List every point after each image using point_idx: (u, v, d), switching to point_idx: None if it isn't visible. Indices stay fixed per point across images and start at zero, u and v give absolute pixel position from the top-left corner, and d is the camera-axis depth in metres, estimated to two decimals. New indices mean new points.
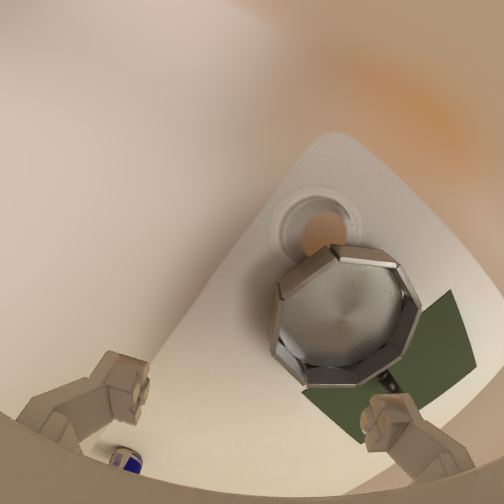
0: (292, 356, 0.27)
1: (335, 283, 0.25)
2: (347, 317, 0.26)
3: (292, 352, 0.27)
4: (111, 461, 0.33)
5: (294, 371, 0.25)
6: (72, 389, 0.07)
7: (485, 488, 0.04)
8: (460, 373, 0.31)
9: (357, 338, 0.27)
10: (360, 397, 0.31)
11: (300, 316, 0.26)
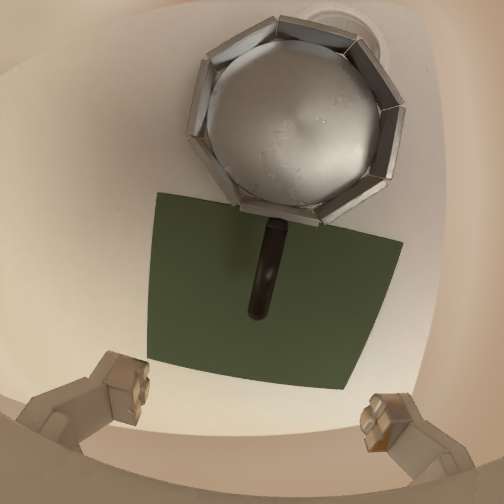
0: (206, 107, 0.18)
1: (322, 79, 0.18)
2: (299, 125, 0.19)
3: (209, 106, 0.18)
4: None
5: (199, 103, 0.16)
6: (72, 389, 0.07)
7: (485, 488, 0.04)
8: (323, 376, 0.27)
9: (285, 162, 0.20)
10: (206, 275, 0.24)
11: (259, 74, 0.18)
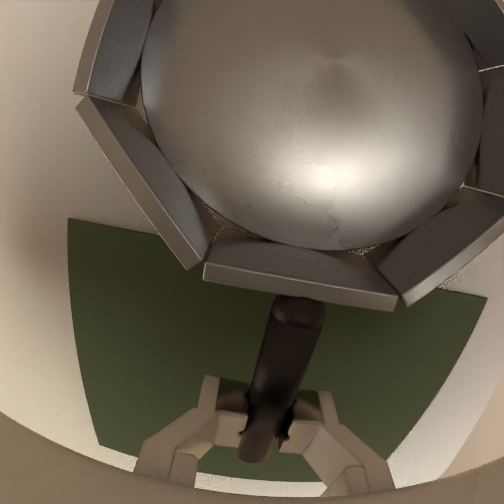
0: (139, 42, 0.07)
1: None
2: (343, 74, 0.08)
3: (147, 42, 0.07)
4: None
5: (107, 18, 0.05)
6: (186, 424, 0.07)
7: (485, 488, 0.04)
8: None
9: (313, 154, 0.08)
10: (162, 360, 0.13)
11: None
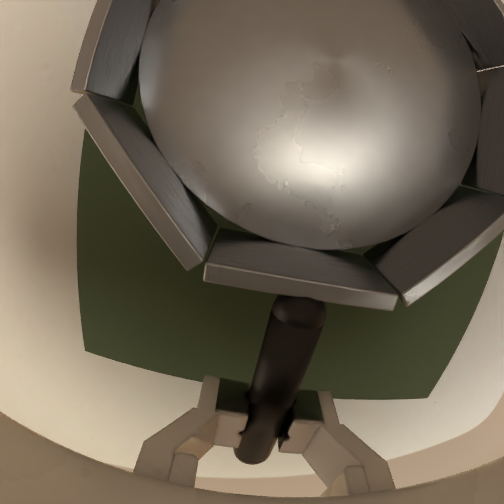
0: (137, 39, 0.07)
1: None
2: (342, 73, 0.08)
3: (146, 39, 0.07)
4: None
5: (106, 15, 0.05)
6: (186, 424, 0.07)
7: (485, 488, 0.04)
8: (403, 379, 0.14)
9: (312, 154, 0.08)
10: None
11: None
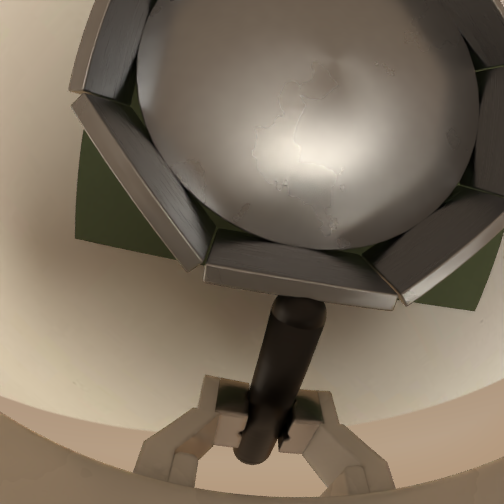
0: (135, 39, 0.07)
1: None
2: (341, 73, 0.08)
3: (144, 39, 0.07)
4: None
5: (104, 14, 0.05)
6: (186, 424, 0.07)
7: (485, 488, 0.04)
8: (451, 278, 0.12)
9: (311, 154, 0.08)
10: None
11: None
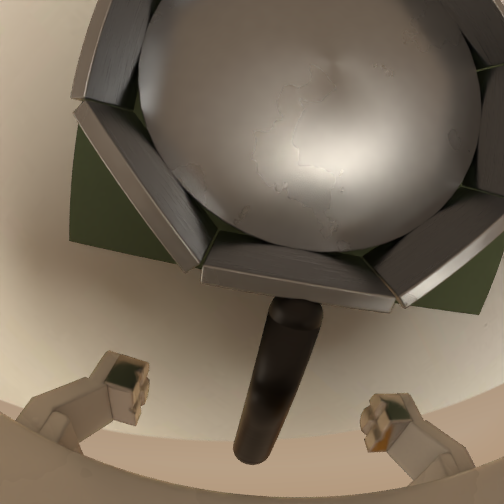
0: (136, 45, 0.07)
1: None
2: (339, 75, 0.08)
3: (145, 45, 0.07)
4: None
5: (103, 23, 0.05)
6: (72, 389, 0.07)
7: (485, 488, 0.04)
8: (455, 281, 0.12)
9: (310, 156, 0.08)
10: None
11: None
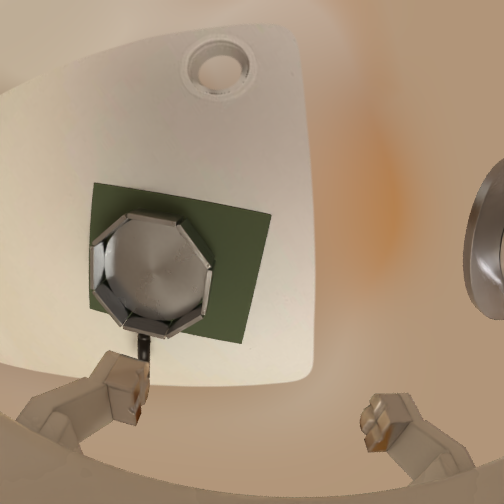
0: (102, 265, 0.30)
1: (166, 244, 0.30)
2: (155, 275, 0.31)
3: (105, 263, 0.31)
4: None
5: (93, 272, 0.28)
6: (72, 389, 0.07)
7: (485, 488, 0.04)
8: (221, 329, 0.35)
9: (150, 297, 0.32)
10: None
11: (129, 243, 0.30)
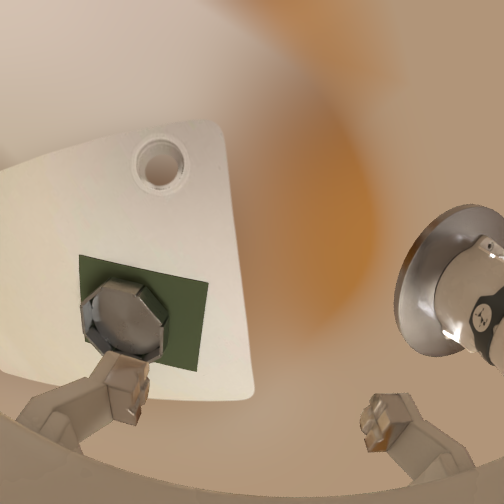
0: (90, 315, 0.40)
1: (133, 304, 0.39)
2: (128, 324, 0.41)
3: (92, 313, 0.40)
4: None
5: (84, 322, 0.38)
6: (72, 389, 0.07)
7: (485, 488, 0.04)
8: (180, 361, 0.45)
9: (126, 338, 0.41)
10: None
11: (107, 301, 0.40)
